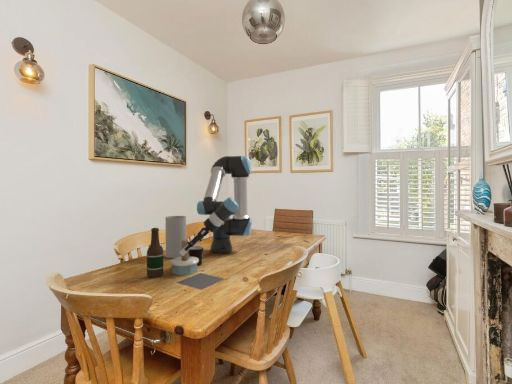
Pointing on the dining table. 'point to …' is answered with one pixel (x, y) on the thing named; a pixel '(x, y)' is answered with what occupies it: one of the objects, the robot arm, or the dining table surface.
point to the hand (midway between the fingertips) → (185, 251)
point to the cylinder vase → (175, 235)
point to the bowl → (184, 269)
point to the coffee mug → (197, 253)
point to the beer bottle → (155, 256)
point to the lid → (184, 258)
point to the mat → (200, 281)
